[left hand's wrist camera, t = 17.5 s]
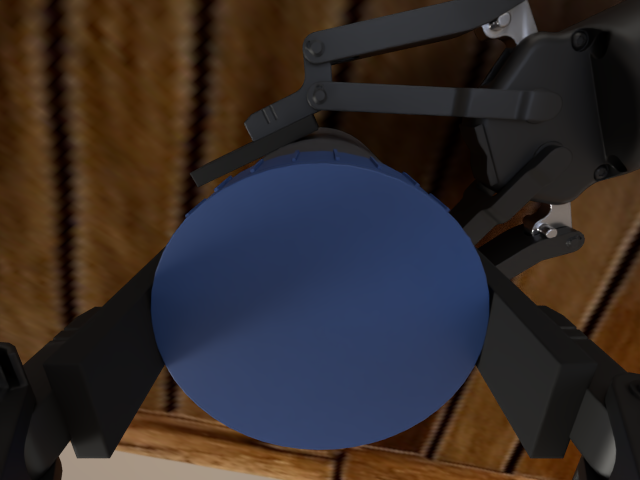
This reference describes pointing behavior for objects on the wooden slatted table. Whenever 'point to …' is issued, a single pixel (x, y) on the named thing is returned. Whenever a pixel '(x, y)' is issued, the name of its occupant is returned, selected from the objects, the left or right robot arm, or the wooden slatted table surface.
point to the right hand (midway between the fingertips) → (248, 252)
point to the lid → (320, 302)
